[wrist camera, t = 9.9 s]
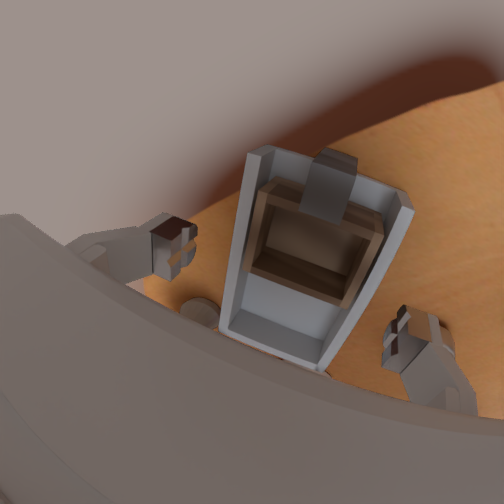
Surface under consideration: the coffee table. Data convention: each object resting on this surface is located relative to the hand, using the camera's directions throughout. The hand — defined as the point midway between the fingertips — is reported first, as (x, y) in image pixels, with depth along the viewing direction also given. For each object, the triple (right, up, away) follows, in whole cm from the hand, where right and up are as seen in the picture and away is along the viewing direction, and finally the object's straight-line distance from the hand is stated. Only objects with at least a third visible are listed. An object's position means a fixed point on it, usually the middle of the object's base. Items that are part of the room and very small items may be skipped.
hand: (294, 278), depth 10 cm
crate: (+5, +5, +16) cm, 17 cm away
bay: (+4, 0, +20) cm, 21 cm away
